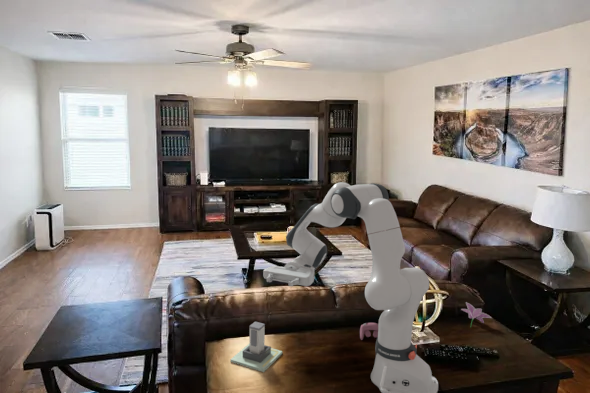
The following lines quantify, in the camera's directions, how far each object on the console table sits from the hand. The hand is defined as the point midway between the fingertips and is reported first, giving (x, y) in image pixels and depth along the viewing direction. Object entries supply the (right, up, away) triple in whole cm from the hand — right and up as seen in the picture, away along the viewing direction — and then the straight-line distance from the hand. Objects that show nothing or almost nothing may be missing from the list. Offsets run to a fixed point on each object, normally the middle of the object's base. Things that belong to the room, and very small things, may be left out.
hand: (278, 282), depth 177 cm
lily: (+84, -23, +25) cm, 91 cm away
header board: (-8, -27, -5) cm, 29 cm away
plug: (-8, -26, -6) cm, 28 cm away
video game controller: (+37, -25, +11) cm, 46 cm away
